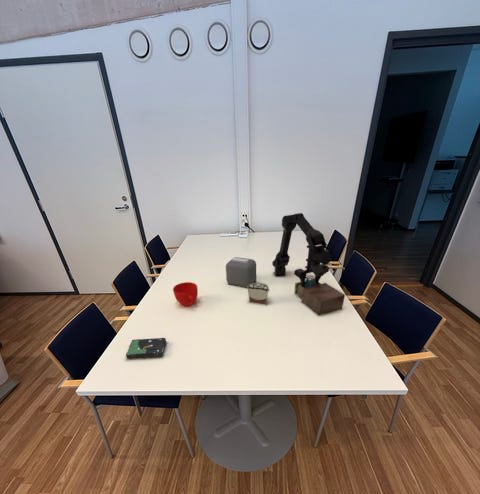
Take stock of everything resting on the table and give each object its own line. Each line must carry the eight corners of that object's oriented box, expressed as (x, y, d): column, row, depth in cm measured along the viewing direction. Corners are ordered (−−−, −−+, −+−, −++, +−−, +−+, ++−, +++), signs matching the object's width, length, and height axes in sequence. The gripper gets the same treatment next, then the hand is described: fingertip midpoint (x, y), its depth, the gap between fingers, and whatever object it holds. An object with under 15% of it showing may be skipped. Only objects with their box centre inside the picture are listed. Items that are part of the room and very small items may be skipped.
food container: (271, 299, 148) (271, 283, 142) (268, 305, 143) (269, 288, 138) (250, 296, 152) (250, 281, 146) (247, 302, 147) (246, 285, 141)
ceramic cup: (182, 315, 138) (179, 298, 132) (173, 301, 150) (170, 285, 145) (205, 308, 142) (203, 292, 137) (194, 295, 155) (192, 280, 149)
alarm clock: (256, 281, 168) (256, 258, 159) (249, 289, 159) (248, 264, 151) (233, 277, 174) (232, 254, 165) (225, 284, 165) (223, 261, 156)
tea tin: (306, 295, 147) (308, 279, 141) (303, 291, 151) (305, 275, 145) (314, 294, 147) (317, 278, 142) (311, 290, 151) (313, 274, 146)
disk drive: (166, 342, 120) (133, 344, 119) (165, 337, 118) (131, 339, 117) (162, 357, 111) (126, 359, 110) (161, 352, 110) (125, 354, 109)
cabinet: (301, 301, 145) (303, 288, 140) (323, 296, 149) (325, 282, 145) (318, 315, 133) (321, 301, 128) (341, 309, 137) (344, 294, 133)
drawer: (290, 290, 154) (291, 280, 151) (309, 286, 158) (310, 275, 155) (308, 305, 140) (310, 294, 136) (329, 299, 144) (331, 288, 140)
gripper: (307, 266, 128) (303, 295, 137) (338, 260, 134) (333, 287, 143) (294, 259, 137) (292, 286, 146) (324, 253, 143) (320, 279, 151)
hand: (309, 285), depth 146 cm, fingers open, 8 cm apart
